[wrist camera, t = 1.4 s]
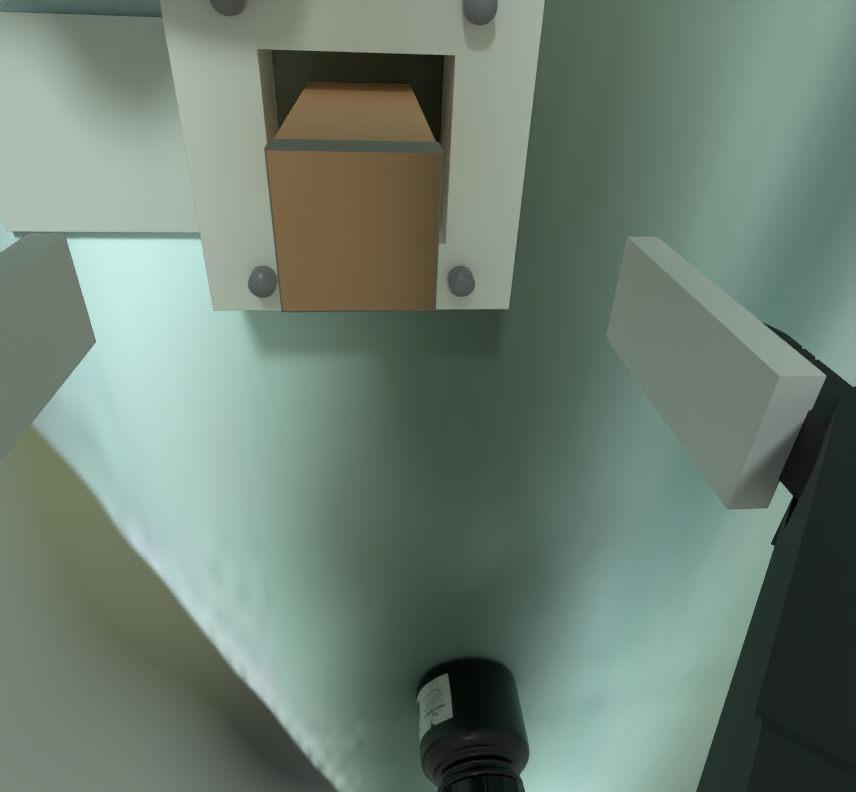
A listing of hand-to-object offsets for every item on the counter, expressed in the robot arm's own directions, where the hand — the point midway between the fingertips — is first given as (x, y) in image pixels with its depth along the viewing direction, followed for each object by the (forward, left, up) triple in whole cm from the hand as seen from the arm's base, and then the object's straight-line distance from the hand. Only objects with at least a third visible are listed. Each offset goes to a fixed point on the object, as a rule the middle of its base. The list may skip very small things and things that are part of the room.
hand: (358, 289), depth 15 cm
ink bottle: (+45, +8, -17) cm, 49 cm away
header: (0, 0, -17) cm, 17 cm away
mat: (0, -13, -17) cm, 21 cm away
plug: (0, 0, -17) cm, 17 cm away
